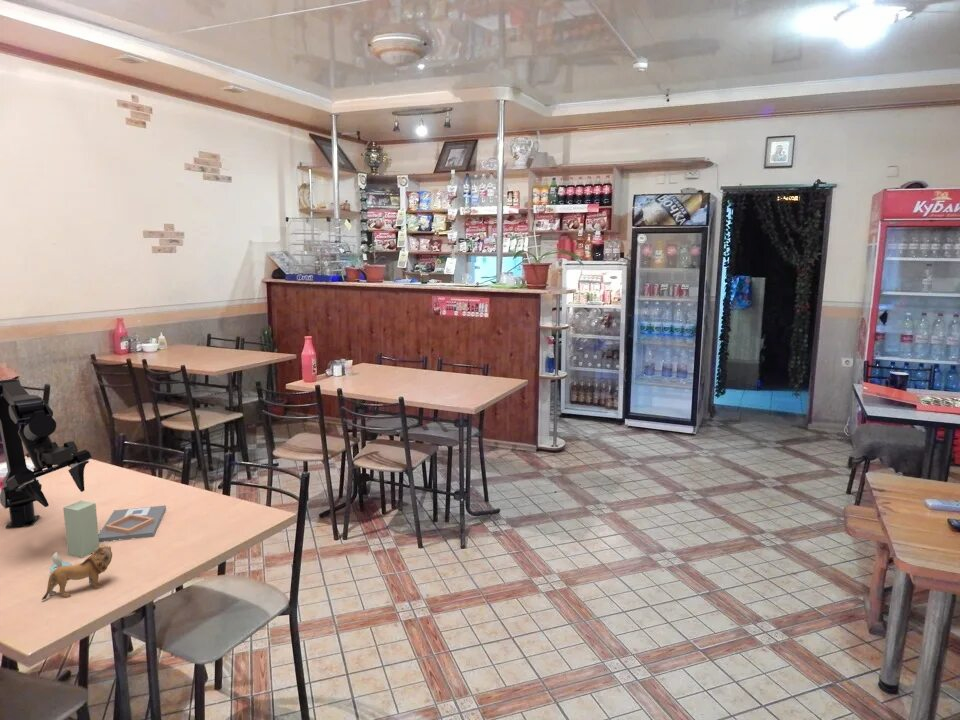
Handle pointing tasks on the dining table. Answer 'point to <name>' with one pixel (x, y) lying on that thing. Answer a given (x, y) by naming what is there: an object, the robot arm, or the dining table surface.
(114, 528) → the collar
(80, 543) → the pillar
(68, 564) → the pacifier
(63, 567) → the lion figurine
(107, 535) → the baseplate
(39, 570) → the dining table surface
